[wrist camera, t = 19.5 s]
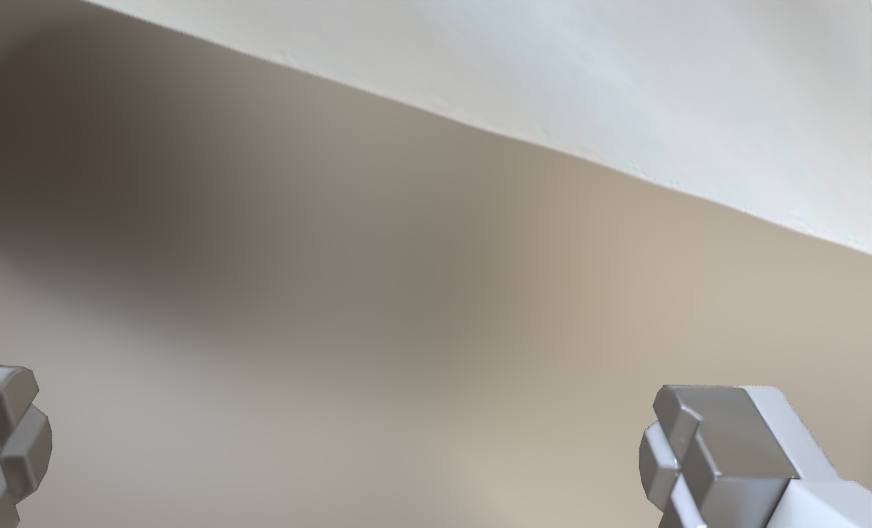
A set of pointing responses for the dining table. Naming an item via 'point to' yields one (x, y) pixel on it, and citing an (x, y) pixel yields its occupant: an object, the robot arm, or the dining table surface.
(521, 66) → the dining table surface
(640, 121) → the dining table surface
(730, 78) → the dining table surface
